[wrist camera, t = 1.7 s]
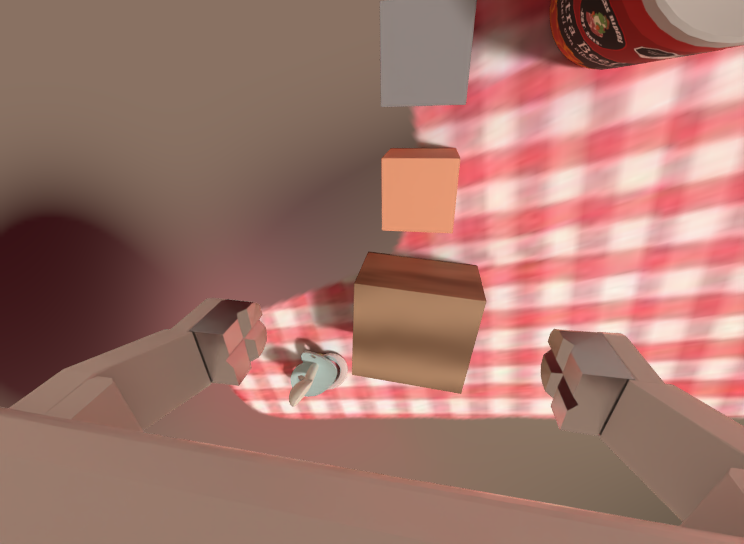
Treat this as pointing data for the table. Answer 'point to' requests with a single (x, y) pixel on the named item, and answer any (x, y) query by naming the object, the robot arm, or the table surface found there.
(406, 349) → the walnut block
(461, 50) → the gray metal cube
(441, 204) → the terracotta cube
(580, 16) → the canned food
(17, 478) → the robot arm
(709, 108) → the table surface
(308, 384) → the pacifier
